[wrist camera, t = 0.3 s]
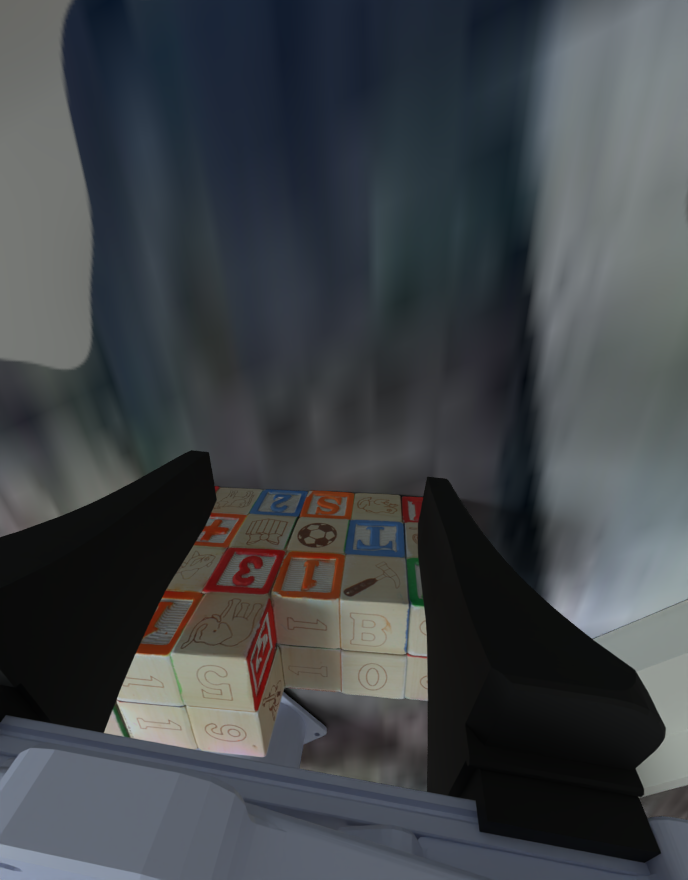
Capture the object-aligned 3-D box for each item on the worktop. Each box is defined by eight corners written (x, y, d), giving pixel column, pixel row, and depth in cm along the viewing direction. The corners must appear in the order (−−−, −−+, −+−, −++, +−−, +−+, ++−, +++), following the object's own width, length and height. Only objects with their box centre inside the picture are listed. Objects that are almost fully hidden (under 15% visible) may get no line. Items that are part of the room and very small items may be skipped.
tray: (590, 761, 33) (609, 805, 30) (508, 674, 30) (521, 715, 27) (787, 700, 28) (831, 746, 25) (713, 588, 25) (755, 627, 22)
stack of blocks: (451, 493, 24) (511, 682, 13) (442, 571, 27) (486, 787, 15) (133, 480, 26) (-59, 634, 15) (152, 554, 28) (0, 734, 17)
